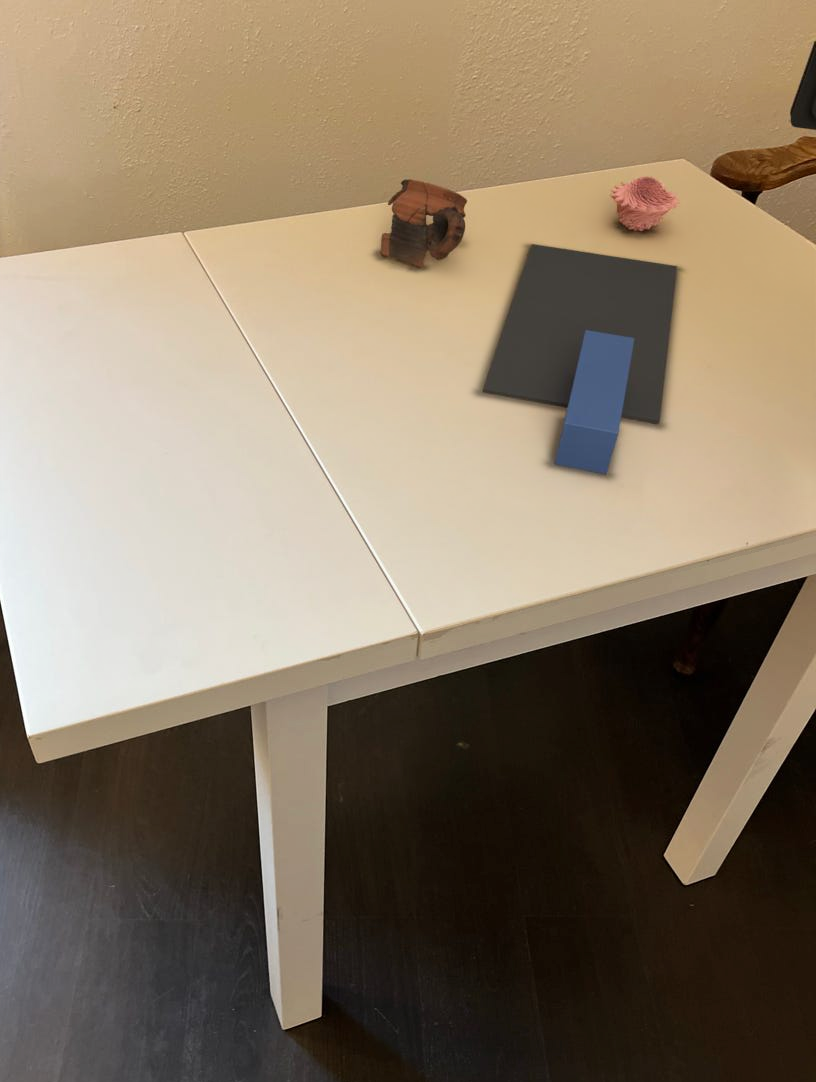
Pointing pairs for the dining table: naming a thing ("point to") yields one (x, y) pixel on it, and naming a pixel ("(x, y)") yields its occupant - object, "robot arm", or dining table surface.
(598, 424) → the blue post
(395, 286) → the dining table surface
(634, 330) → the rubber mat
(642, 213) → the pink coral piece
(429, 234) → the brown broken pot
